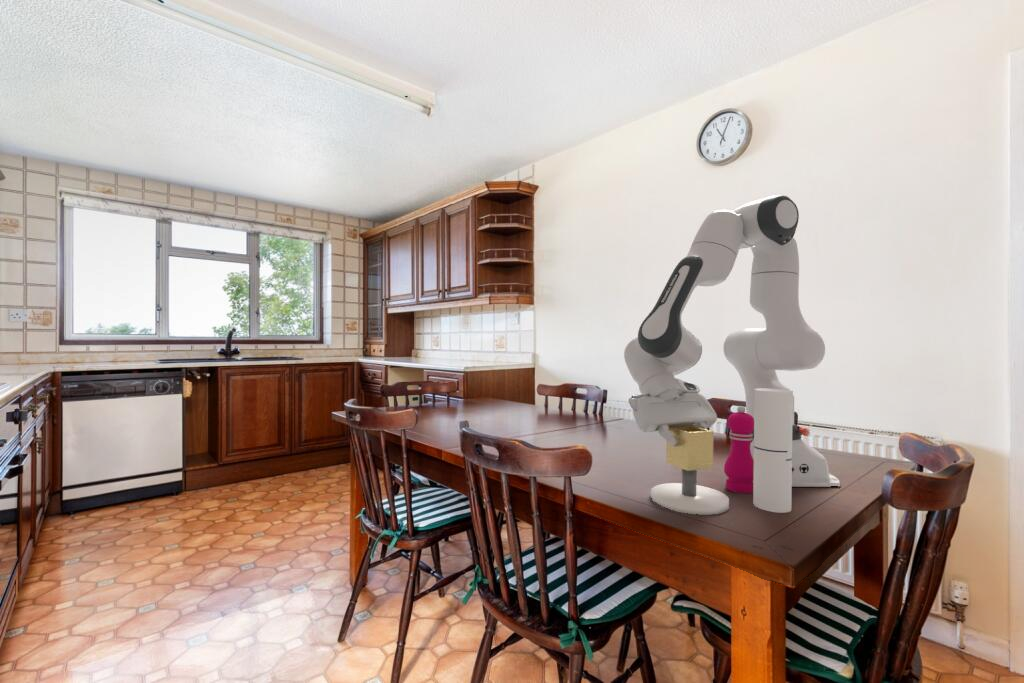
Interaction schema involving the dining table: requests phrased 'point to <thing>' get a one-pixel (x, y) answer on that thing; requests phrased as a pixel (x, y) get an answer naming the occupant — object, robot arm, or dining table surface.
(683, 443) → the yellow square cup
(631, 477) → the dining table surface
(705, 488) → the plate
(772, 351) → the robot arm
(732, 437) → the pepper mill
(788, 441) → the cylindrical container
